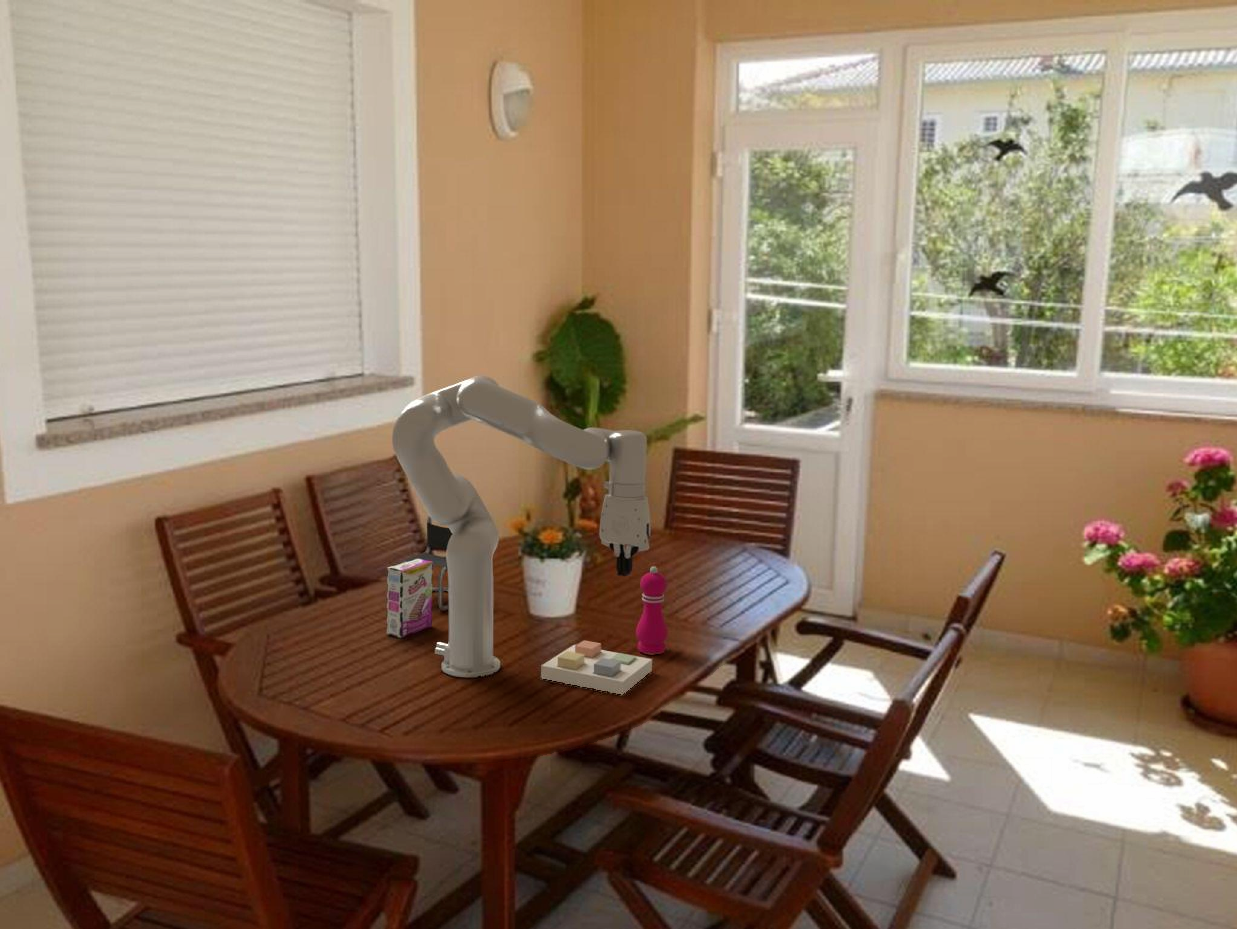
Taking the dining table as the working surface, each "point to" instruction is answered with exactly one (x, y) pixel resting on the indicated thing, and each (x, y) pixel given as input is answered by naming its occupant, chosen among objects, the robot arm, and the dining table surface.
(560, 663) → the ochre button
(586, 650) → the terracotta button
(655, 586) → the pepper mill
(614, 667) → the slate button
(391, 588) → the candy bar box
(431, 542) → the chair
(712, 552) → the dining table surface
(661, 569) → the dining table surface
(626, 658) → the sage button
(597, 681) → the console
